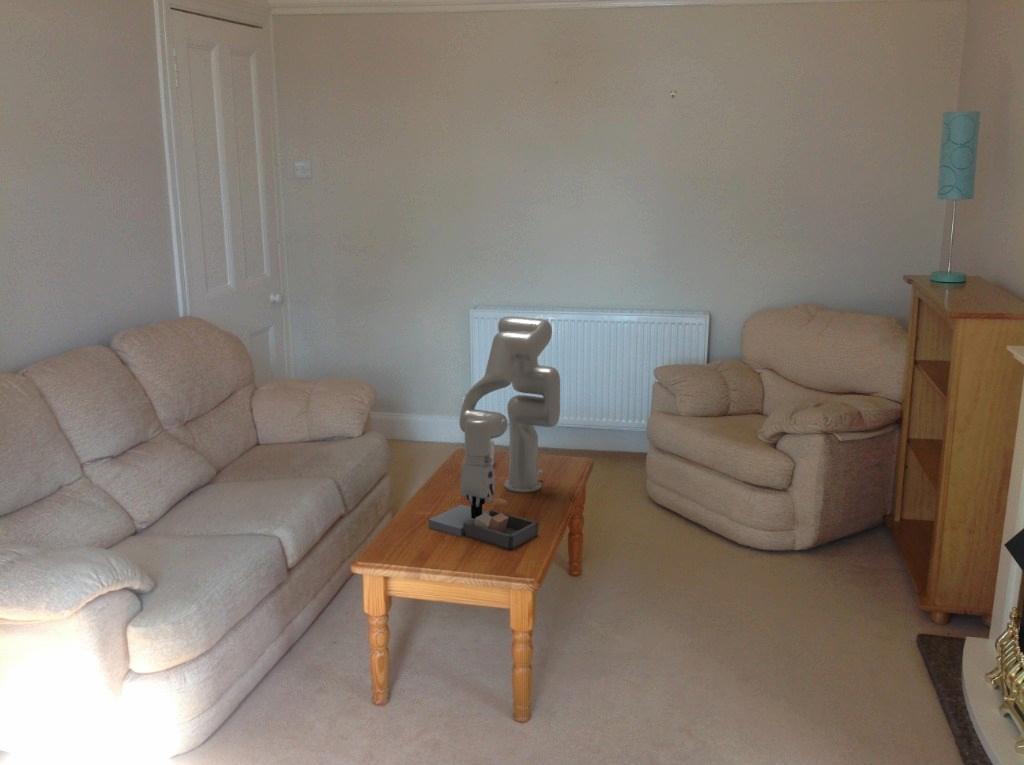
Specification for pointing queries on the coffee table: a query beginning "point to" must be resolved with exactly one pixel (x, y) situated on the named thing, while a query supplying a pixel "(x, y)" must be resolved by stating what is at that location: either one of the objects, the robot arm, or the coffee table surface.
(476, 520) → the tile
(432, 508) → the coffee table surface
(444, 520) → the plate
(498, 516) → the tile
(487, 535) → the box
